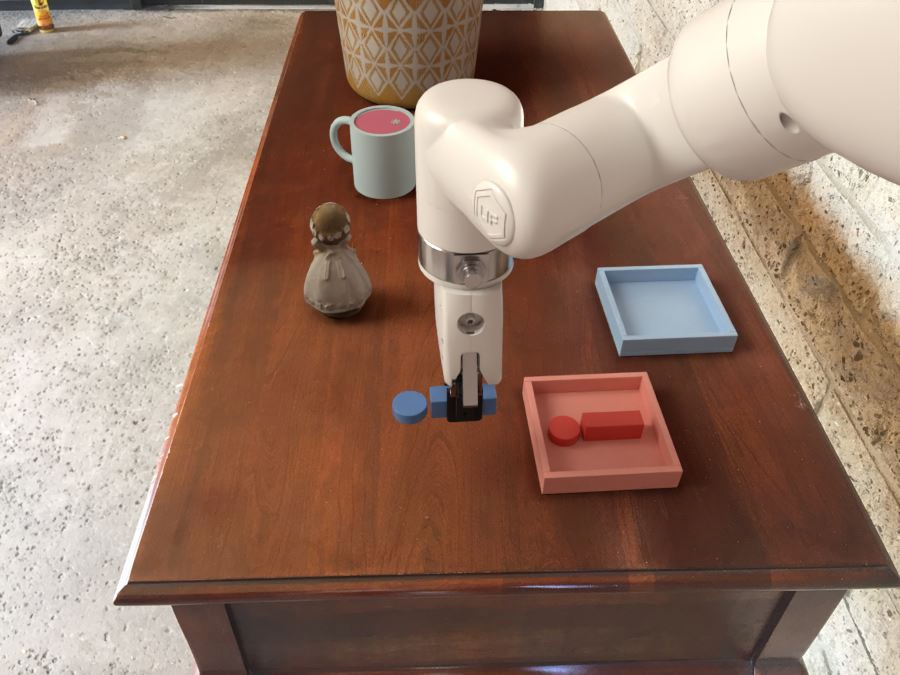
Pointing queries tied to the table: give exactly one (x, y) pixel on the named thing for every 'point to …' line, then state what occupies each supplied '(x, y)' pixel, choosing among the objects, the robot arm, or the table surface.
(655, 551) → the table surface
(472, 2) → the planter
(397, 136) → the mug
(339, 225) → the figurine
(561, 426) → the red spoon
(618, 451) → the red tray
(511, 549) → the table surface
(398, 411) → the blue spoon
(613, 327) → the blue tray
